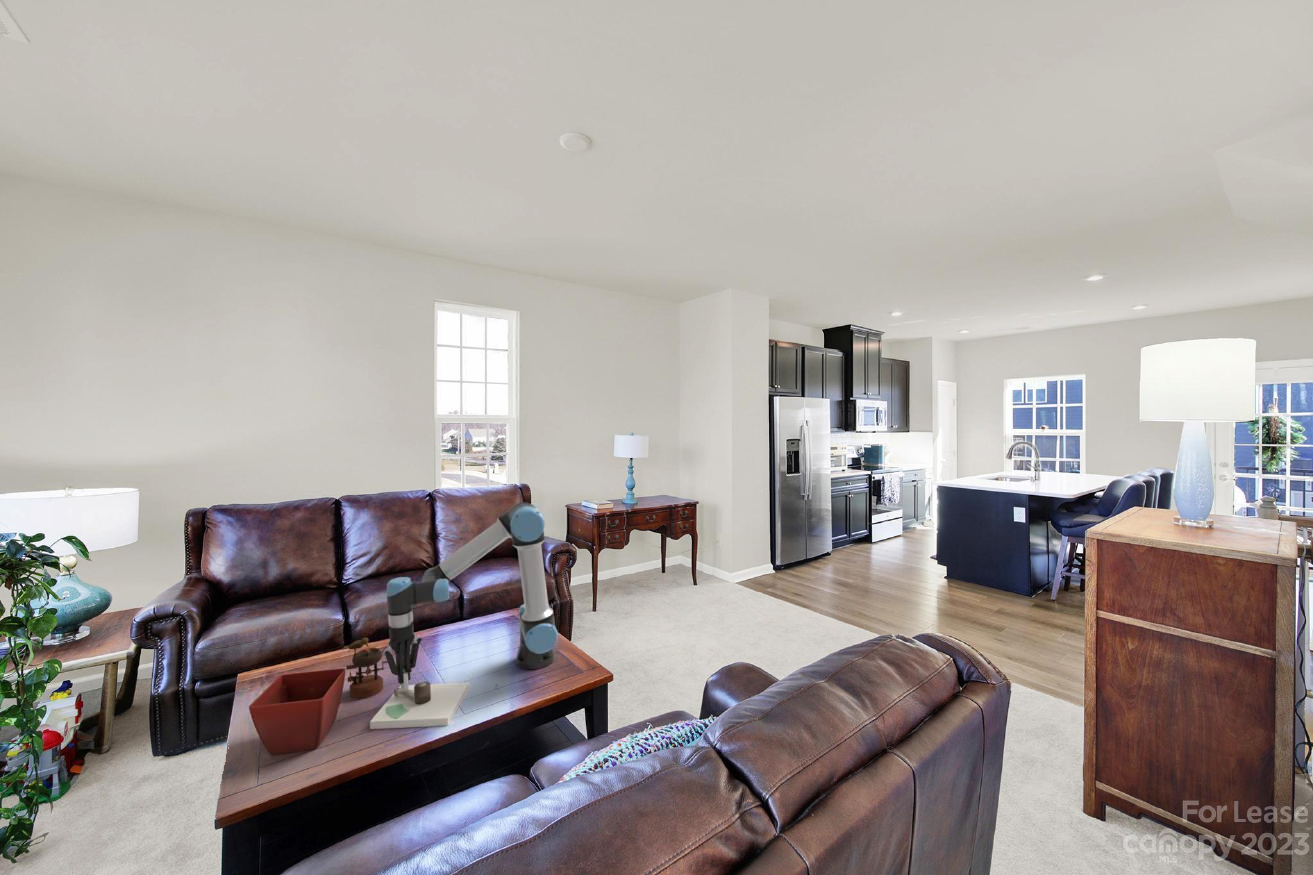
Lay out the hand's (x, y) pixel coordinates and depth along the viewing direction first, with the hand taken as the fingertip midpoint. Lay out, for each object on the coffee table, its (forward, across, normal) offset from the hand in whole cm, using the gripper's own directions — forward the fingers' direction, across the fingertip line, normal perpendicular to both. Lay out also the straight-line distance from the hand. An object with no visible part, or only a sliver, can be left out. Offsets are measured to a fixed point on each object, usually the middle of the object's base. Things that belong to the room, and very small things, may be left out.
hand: (404, 690), depth 178 cm
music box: (+4, +3, -18) cm, 19 cm away
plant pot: (+4, +29, -6) cm, 30 cm away
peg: (+1, 0, +5) cm, 5 cm away
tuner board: (+4, -1, +9) cm, 10 cm away
